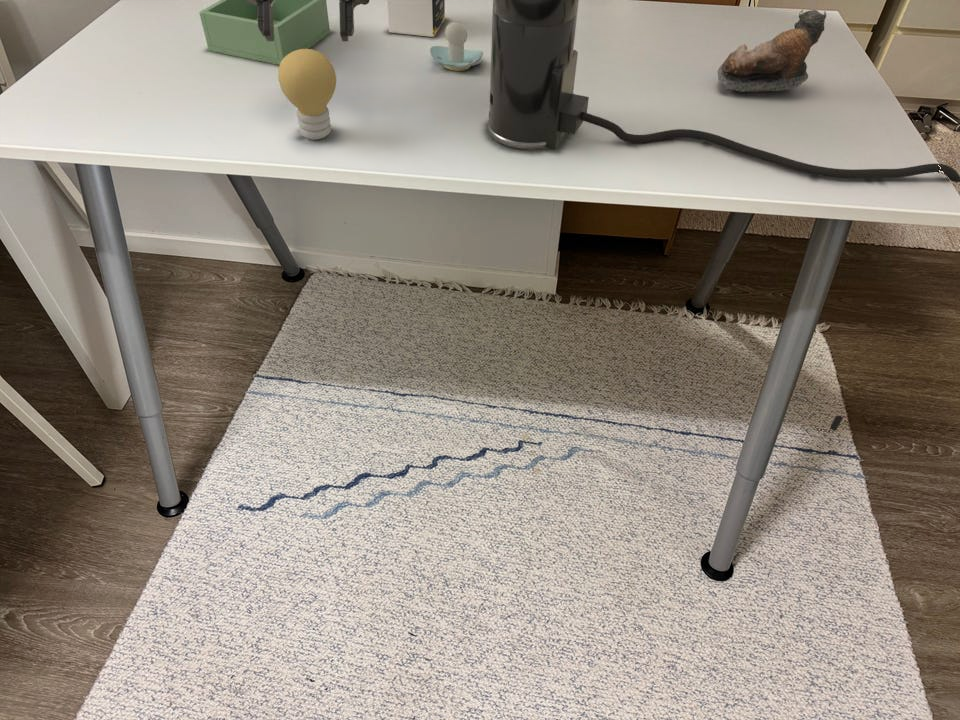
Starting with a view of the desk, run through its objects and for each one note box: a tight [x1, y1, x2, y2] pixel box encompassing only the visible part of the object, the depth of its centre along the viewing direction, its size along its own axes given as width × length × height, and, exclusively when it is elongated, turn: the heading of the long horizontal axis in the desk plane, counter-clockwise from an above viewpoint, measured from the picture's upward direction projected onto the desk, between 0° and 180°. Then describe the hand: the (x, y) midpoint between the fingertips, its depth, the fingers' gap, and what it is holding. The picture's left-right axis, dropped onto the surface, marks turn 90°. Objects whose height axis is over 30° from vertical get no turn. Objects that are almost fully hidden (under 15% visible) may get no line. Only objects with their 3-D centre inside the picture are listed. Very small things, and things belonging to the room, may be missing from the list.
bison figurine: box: [717, 9, 827, 93], centre depth 95 cm, size 12×7×10 cm, turn 93°
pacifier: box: [429, 21, 484, 72], centre depth 100 cm, size 7×6×6 cm
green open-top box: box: [198, 0, 331, 66], centre depth 104 cm, size 13×13×5 cm
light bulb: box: [277, 48, 337, 141], centre depth 84 cm, size 6×6×10 cm
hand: (307, 38), depth 83 cm, fingers open, 8 cm apart
